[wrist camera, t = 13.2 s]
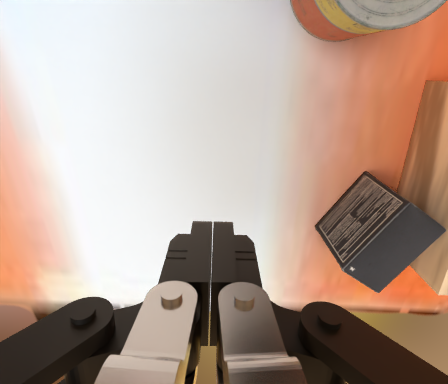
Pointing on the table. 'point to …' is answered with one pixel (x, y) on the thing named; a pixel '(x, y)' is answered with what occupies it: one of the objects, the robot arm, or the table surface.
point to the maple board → (430, 179)
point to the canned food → (359, 16)
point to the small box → (376, 232)
